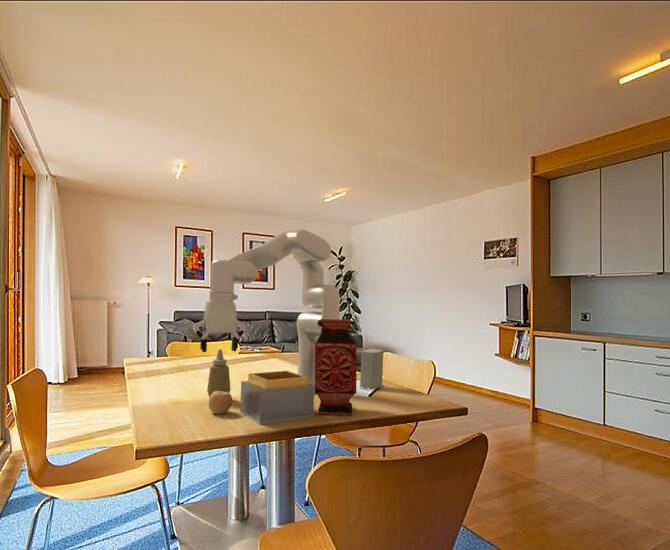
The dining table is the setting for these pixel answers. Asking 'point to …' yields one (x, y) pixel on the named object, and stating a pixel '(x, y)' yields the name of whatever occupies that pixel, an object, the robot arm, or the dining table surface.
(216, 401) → the fruit
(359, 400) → the dining table surface
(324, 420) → the dining table surface
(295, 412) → the box
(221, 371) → the squeeze bottle
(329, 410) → the vase
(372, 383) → the skincare box
